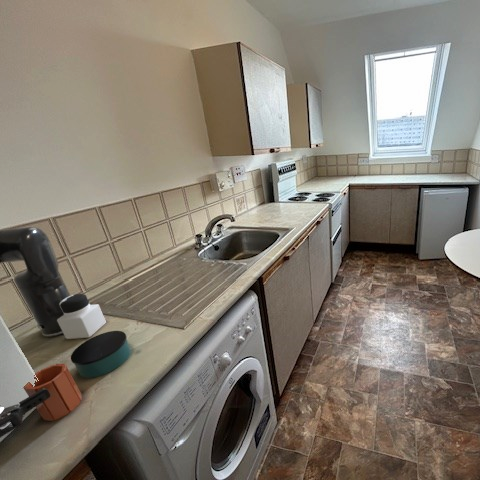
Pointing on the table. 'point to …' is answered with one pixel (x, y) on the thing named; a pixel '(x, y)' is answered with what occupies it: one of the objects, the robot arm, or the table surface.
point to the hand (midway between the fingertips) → (40, 383)
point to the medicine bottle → (80, 317)
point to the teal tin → (101, 354)
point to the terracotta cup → (55, 392)
